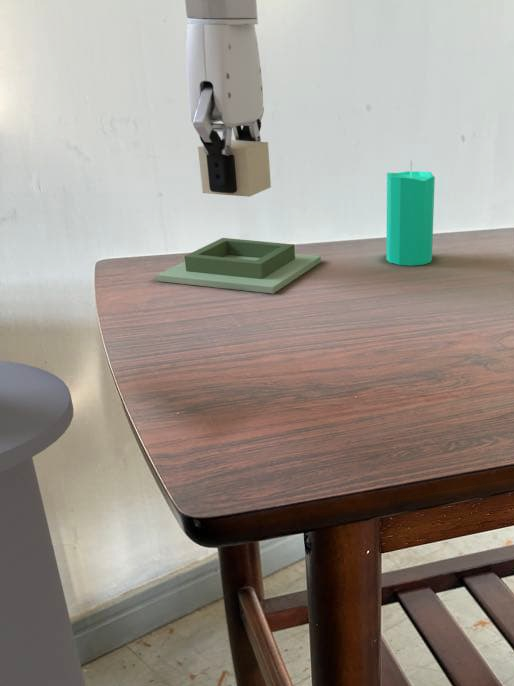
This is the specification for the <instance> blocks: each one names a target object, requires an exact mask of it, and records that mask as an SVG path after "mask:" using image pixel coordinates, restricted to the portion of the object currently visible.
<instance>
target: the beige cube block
mask: <svg viewBox="0 0 514 686" xmlns="http://www.w3.org/2000/svg"><path fill="white" fill-rule="evenodd" d="M203 146H204V145H203V144H202V145H199V146H197V151H198V152H197V153H198V161H199V171H200V182H201V192H202V194H208V195H209V194H211V195H222V196H223V195H224V196H236V197H246V198H247V197H248V198H249V197H252V196H254V195H256V194H259V193H261V192H264V191H265V190H268V189H270V188H272V183H271V167H270V152H269V142H268V141H261V142H255V141H239V140H236V139H231V150H230V155H234V160H235V172H236V184H237V191H236V192H235V193H222V192H212V191H211V190H210V187H209V177H208V167H207V157H206V154H205V153H204V150H203Z"/></svg>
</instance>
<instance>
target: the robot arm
mask: <svg viewBox="0 0 514 686" xmlns="http://www.w3.org/2000/svg"><path fill="white" fill-rule="evenodd" d="M257 1H258V0H184V3H185V13H186V23H187V24H186V34H185V35H186V39H185V63H186V65H185V68H186V69H185V71H186V86H187V87H186V88H187V100H188V101H187V102H188V112H189V113H188V114H189V118H190V121H191V123H192V124H193V128H194V129H195V131H196V132H197V135H198V136H199V139H200V142H201V143H202V145H204V146H203V150H204V153H205V154H206V157H207V167H208V177H209V187H210V190H211V191H212V192H222V193H235V192H236V191H237V184H236V172H235V160H234V155H230V150H231V140H232V135H234V140H239V141H255V142H262V138H261V133H260V132H261V129H262V119H263V116H264V112H265V106H264V90H263V78H262V77H263V76H262V70H261V69H262V68H261V67H262V66H261V57H260V51H259V44H258V38H257V33H256V26H255V25H258V24H259V19H258V3H257ZM219 122H221V123H219ZM219 133H222V134H221V135H222V136H220V135H219Z"/></svg>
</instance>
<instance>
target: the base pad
mask: <svg viewBox="0 0 514 686" xmlns="http://www.w3.org/2000/svg"><path fill="white" fill-rule="evenodd" d="M295 250H296V249H295V244H293V243H284V242H283V243H281V242H274V241H273V242H271V241H262V240H261V241H260V240H250V239H240V238H230V237H229V238H228V237H221V238H219V239H217V240H215V241H212V242H211V243H209V244H207V245H205V246H202V247H201V248H199V249H196V250H194V251H192V252H190V253H188V254H186V255H184V261H182V262H180V263H178V264H176V265H174V266H172V267H170V268H168V269H165V270H164V271H161V272H160V273H157V274H156V278H157V279H156V280H157V282H161V283H171V284H179V285H191V286H197V287H198V286H199V287H206V288H207V287H208V288H216V289H217V288H218V289H227V290H235V291H245V292H254V293H264V294H271V295H272V294H275V293H277V292H278V291H280V290H281V289H283V288H284V287H286V286H288V285H289V284H290V283H292V282H293V281H295V280H296V279H298V278H299V277H301V276H303V275H304V274H305V273H307V272H308V271H310V270H311V269H313V268H315V267H316V266H317V265H319V264H321V263H322V257H321V255H313V254H302V253H296V251H295Z"/></svg>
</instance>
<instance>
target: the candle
mask: <svg viewBox="0 0 514 686" xmlns="http://www.w3.org/2000/svg"><path fill="white" fill-rule="evenodd" d="M435 179H436V176H434V174H433V173H432V172H431V171H420V170H419V171H415V170H414V171H413V161H412V160H410V170H408V171H401V172H400V171H399V172H386V256H385V257H386V261H388V262H389V263H390V264H394V265H399V266H423V265H426V264H430V263H431V262H432V260H433V240H434V237H433V236H434V233H433V232H434V213H435V212H434V211H435V209H434V208H435V181H436V180H435Z"/></svg>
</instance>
